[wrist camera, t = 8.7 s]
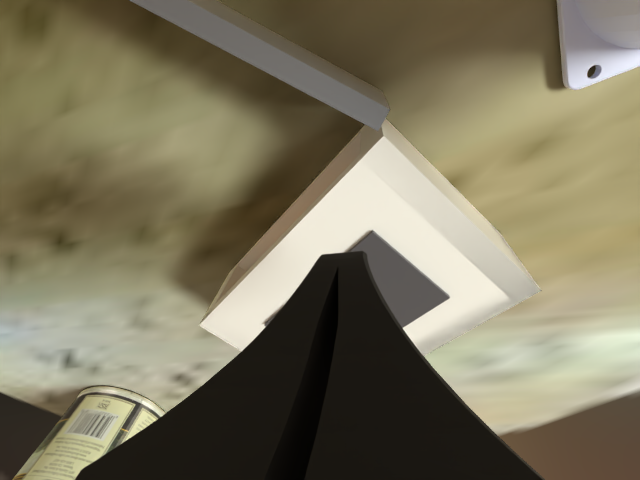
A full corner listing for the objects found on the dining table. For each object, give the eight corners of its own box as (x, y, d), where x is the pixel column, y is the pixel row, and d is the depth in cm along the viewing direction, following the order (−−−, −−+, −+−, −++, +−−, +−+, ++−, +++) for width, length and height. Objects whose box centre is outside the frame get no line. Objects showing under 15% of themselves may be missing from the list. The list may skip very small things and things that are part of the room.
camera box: (500, 233, 19) (544, 293, 14) (337, 345, 25) (331, 410, 21) (377, 110, 16) (384, 137, 11) (229, 271, 22) (197, 328, 18)
